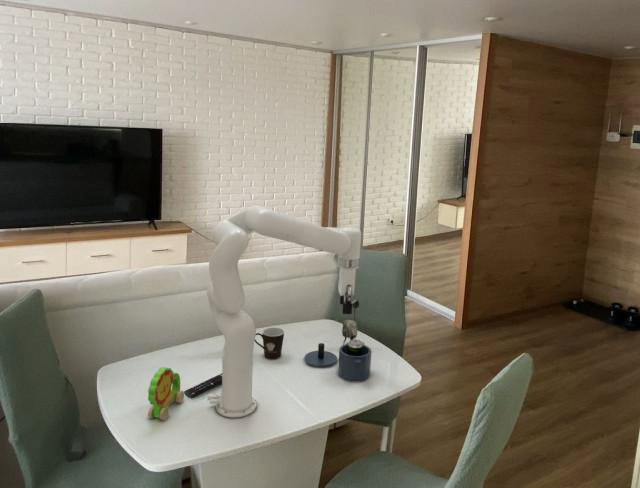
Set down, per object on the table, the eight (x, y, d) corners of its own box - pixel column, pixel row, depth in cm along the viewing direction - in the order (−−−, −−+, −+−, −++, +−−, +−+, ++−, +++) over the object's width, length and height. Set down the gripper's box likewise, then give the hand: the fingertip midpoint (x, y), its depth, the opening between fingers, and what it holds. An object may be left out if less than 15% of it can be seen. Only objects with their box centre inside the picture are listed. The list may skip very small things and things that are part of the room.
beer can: (361, 376, 193) (363, 345, 192) (346, 376, 193) (348, 345, 191) (360, 369, 199) (362, 339, 197) (346, 369, 198) (348, 339, 197)
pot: (340, 385, 187) (341, 360, 186) (336, 363, 204) (337, 340, 202) (372, 385, 188) (374, 360, 187) (366, 363, 205) (367, 340, 204)
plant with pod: (335, 345, 219) (338, 300, 217) (359, 341, 225) (361, 296, 223) (345, 353, 212) (347, 306, 210) (368, 348, 218) (371, 302, 216)
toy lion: (169, 397, 173) (170, 354, 171) (185, 399, 172) (185, 356, 170) (142, 424, 158) (142, 376, 156) (159, 427, 157) (159, 379, 155)
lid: (304, 368, 198) (305, 351, 197) (304, 353, 211) (304, 337, 210) (338, 368, 200) (339, 351, 199) (335, 353, 212) (336, 337, 212)
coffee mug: (287, 355, 208) (288, 331, 207) (273, 363, 201) (274, 338, 200) (265, 347, 215) (266, 324, 213) (251, 354, 207) (251, 330, 206)
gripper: (336, 255, 193) (333, 300, 195) (340, 268, 176) (337, 317, 178) (356, 256, 194) (353, 300, 196) (362, 269, 177) (359, 318, 179)
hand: (345, 308), depth 187 cm, fingers open, 9 cm apart
